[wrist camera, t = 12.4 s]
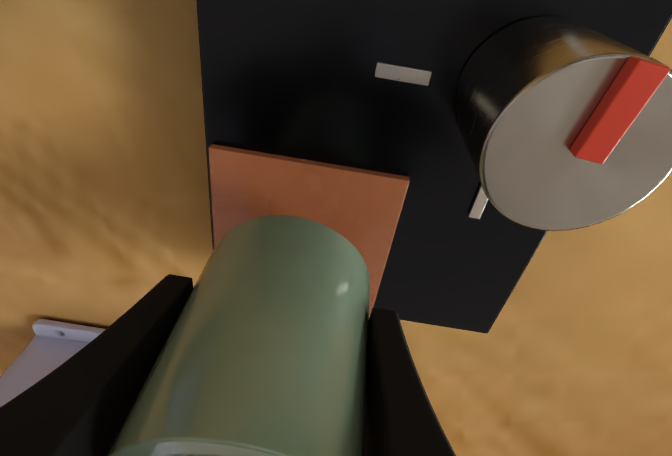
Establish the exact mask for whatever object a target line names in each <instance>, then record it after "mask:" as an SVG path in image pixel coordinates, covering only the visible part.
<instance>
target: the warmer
mask: <svg viewBox="0 0 672 456" xmlns="http://www.w3.org/2000/svg"><path fill="white" fill-rule="evenodd" d="M197 14H198V30H199V45H200V60H201V76H202V91H203V106H204V122H205V137H206V152H207V168H208V183H209V199H210V214H211V229H212V245H213V249H214V248H215V247H214V230H213V214H212V198H211V181H210V165H209V149H208V148H209V147H210V145H211V144H215V145H221V146H227V147H233V148H239V149H245V150H251V151H257V152H263V153H269V154H275V155H281V156H287V157H293V158H299V159H306V160H312V161H318V162H324V163H330V164H336V165H342V166H348V167H354V168H360V169H366V170H372V171H378V172H384V173H390V174H396V175H402V176H408V177H409V181H410V182H409V185H408V189H407V192H406V196H405V199H404V203H403V206H402V209H401V213H400V216H399V220H398V223H397V227H396V230H395V234H394V237H393V241H392V244H391V247H390V251H389V254H388V258H387V261H386V265H385V268H384V272H383V275H382V278H381V282H380V285H379V289H378V292H377V296H376V299H375V303H374V306H373V307H375V308H381V309H387V310H393V311H396V312H397V314H398V315H399V319H400V320H406V321H412V322H419V323H425V324H431V325H437V326H444V327H450V328H456V329H462V330H468V331H475V332H481V333H488V332H489V330H490V329H491V327H492V325H493V323H494V322H495V320H496V318H497V317H498V315H499V313H500V311H501V310H502V308H503V306H504V305H505V303H506V301H507V299H508V298H509V296H510V294H511V293H512V291H513V289H514V287H515V286H516V284H517V282H518V281H519V279H520V277H521V275H522V274H523V272H524V270H525V269H526V267H527V265H528V263H529V262H530V260H531V258H532V257H533V255H534V253H535V251H536V250H537V248H538V246H539V245H540V243H541V241H542V239H543V238H544V236H545V234H546V233H547V231H548V230H539V229H534V228H530V227H526V226H523V225H520V224H518V223H516V222H514V221H512V220H510V219H508V218H507V217H505V216H504V215H502V214H501V213H500V212H499V211H498V210H496V209H495V208H494V206H493V205H492V204H491V203H490V201H489V200H488V198H487V196H486V195H485V193H484V190H483V188H482V185H481V183H480V180H479V178H478V175H477V173H476V170H475V168H474V165H473V163H472V160H471V158H470V155H469V153H468V150H467V148H466V145H465V143H464V140H463V138H462V135H461V133H460V130H459V128H458V125H457V122H456V119H455V114H454V96H455V91H456V86H457V83H458V80H459V78H460V75H461V73H462V71H463V69H464V67H465V66H466V64H467V63H468V61H469V59H470V58H471V57H472V55H473V54H474V53H475V52H476V51H477V49H478V48H479V47H480V46H481V45H482V44H483V43H484V42H486V41H487V40H488V39H489V38H491V37H492V36H493V35H494V34H496V33H497V32H499V31H501V30H502V29H504V28H506V27H508V26H510V25H512V24H514V23H517V22H520V21H522V20H525V19H530V18H534V17H543V16H553V17H561V18H566V19H569V20H572V21H575V22H577V23H579V24H581V25H583V26H586V27H588V28H590V29H592V30H594V31H596V32H598V33H600V34H603V35H605V36H607V37H609V38H611V39H613V40H615V41H617V42H620V43H622V44H624V45H626V46H628V47H630V48H632V49H634V50H637V51H639V52H641V53H643V54H645V55H647V56H650V54H651V53H652V51H653V49H654V47H655V46H656V44H657V42H658V41H659V39H660V37H661V35H662V34H663V32H664V30H665V29H666V27H667V25H668V23H669V22H670V20H671V18H672V0H197ZM369 315H371V314H369Z"/></svg>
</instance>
